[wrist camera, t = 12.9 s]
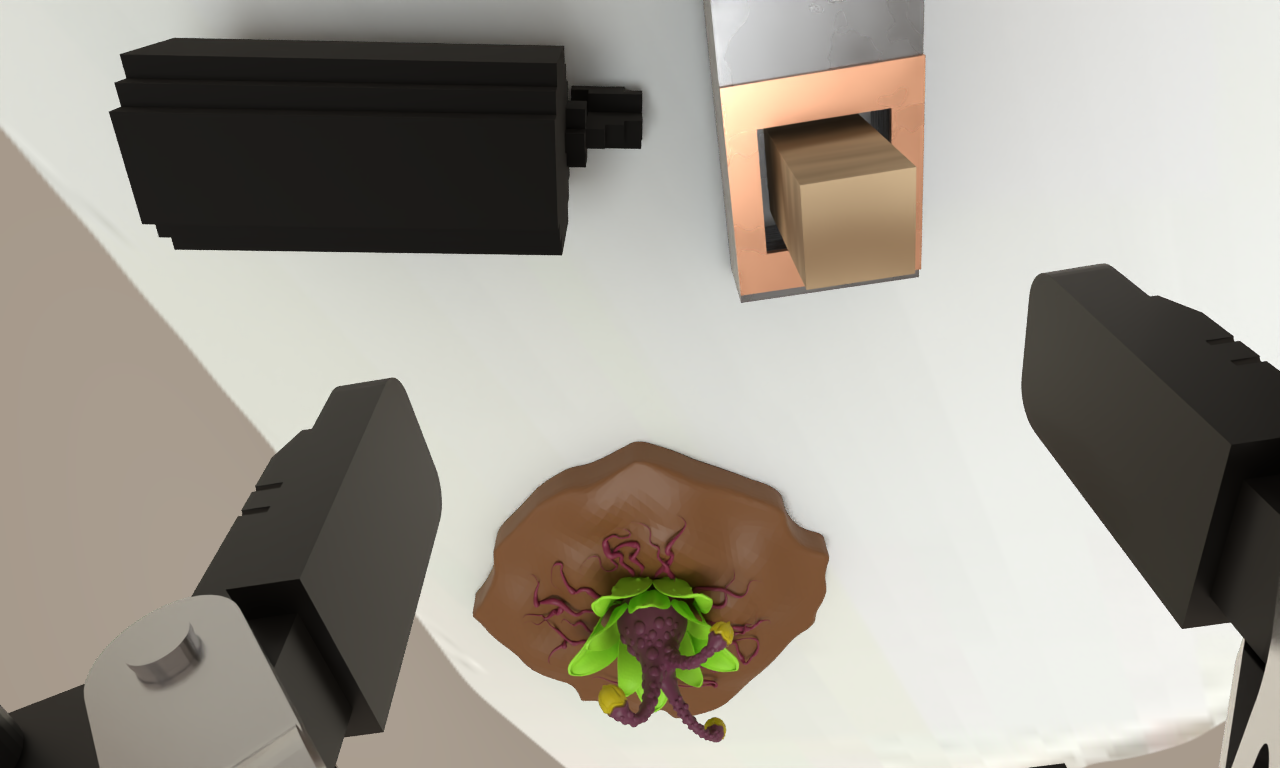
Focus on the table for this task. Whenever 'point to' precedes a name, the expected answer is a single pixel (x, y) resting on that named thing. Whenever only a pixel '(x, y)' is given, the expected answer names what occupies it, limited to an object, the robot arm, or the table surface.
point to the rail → (806, 106)
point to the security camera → (360, 144)
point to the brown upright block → (841, 200)
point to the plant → (652, 583)
